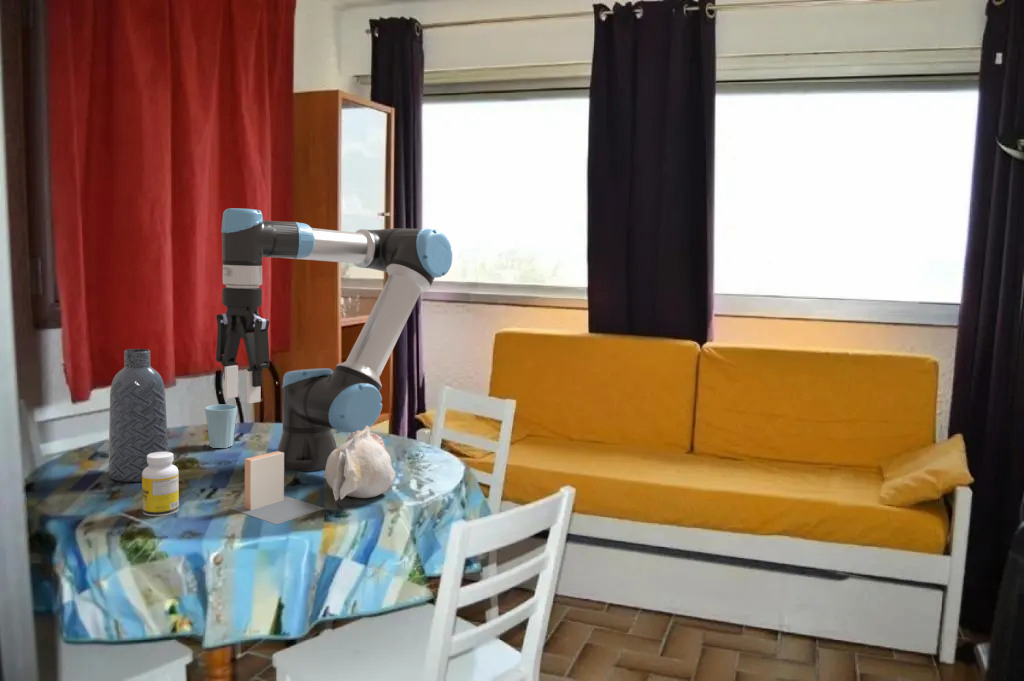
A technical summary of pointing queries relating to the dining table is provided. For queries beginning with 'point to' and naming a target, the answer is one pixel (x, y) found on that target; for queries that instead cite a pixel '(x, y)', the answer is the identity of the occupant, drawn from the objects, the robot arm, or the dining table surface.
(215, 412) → the cup
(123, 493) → the dining table surface
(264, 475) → the tile
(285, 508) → the mat
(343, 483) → the white garlic bulb
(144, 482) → the pill bottle
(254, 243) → the robot arm
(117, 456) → the vase
